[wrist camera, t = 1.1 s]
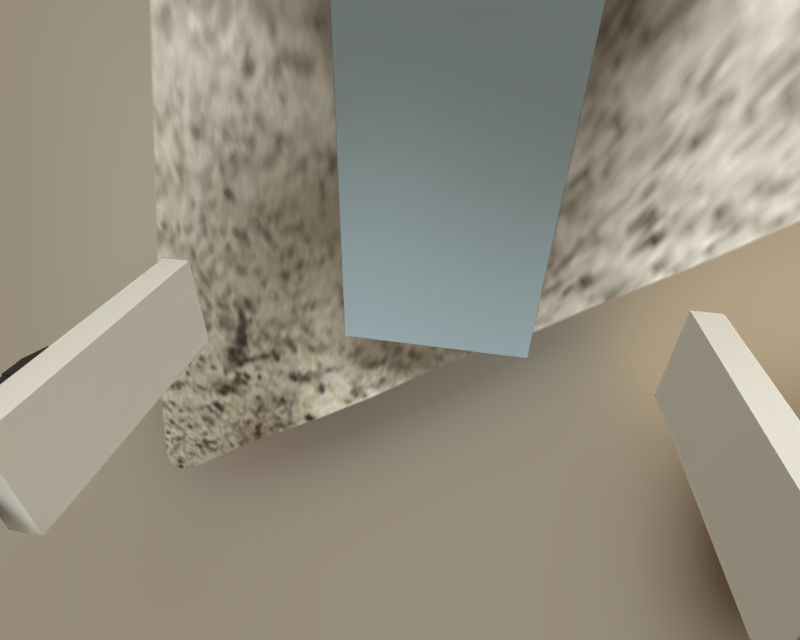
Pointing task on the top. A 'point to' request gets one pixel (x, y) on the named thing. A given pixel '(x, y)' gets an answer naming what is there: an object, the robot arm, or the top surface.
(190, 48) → the top surface
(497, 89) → the light blue block
